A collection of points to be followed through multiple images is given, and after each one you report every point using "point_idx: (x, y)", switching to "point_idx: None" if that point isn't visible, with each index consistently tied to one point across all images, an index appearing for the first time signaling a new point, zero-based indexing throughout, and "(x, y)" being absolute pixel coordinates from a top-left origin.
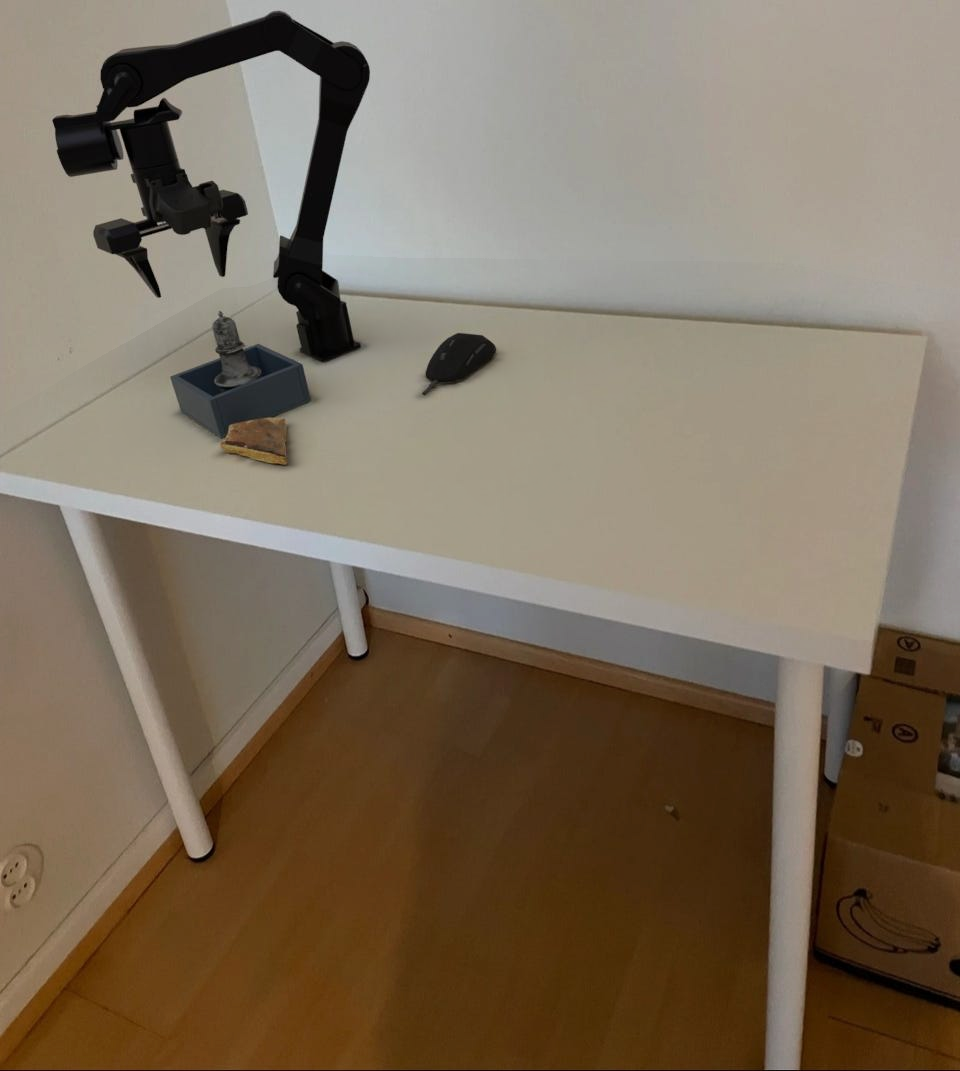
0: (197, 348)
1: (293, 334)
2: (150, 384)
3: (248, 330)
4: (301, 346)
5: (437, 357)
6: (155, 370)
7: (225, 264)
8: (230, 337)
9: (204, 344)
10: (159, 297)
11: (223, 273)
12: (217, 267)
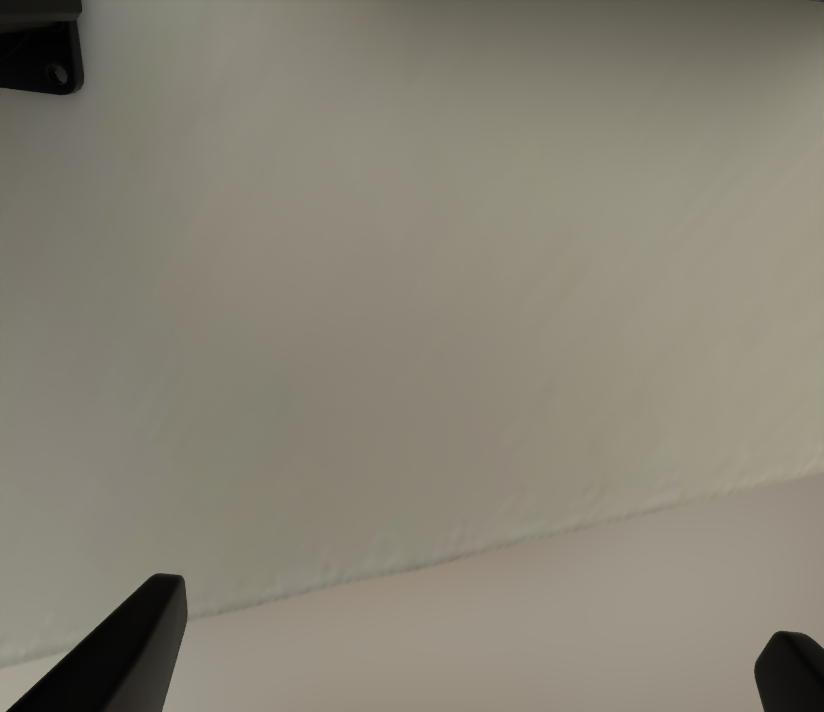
0: (357, 530)
1: (23, 318)
2: (658, 418)
3: (148, 506)
4: (65, 4)
5: None
6: (559, 502)
7: (76, 652)
8: None
9: (322, 537)
10: (795, 632)
11: (157, 591)
12: (159, 686)
